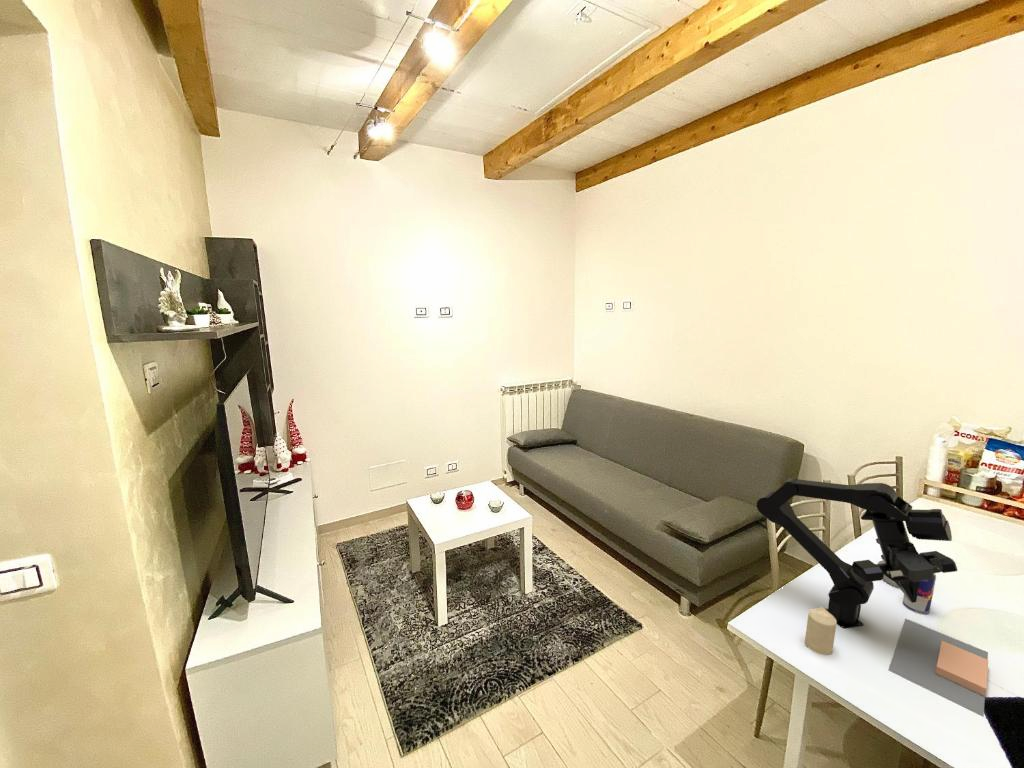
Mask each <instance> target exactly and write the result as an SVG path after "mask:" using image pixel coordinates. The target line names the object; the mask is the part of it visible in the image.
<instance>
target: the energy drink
mask: <svg viewBox="0 0 1024 768" xmlns="http://www.w3.org/2000/svg"><path fill="white" fill-rule="evenodd" d="M936 574H937V573H934V579H933V580H922V581H921V582H920V584H919V588H918V594H917V600H916V602H914V603H912V602H910V601H909V599H908V598H907V597H906V596H905V594H904V593H903V598H902V605H903V606H904V607H905V608H906V609H907V610H909V611H911V612H912V613H915V614H919V615H929V614H930V611H931V605H932V599H933V595H934V591H935V586H936V580H937V575H936Z"/></svg>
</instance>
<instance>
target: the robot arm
mask: <svg viewBox="0 0 1024 768" xmlns="http://www.w3.org/2000/svg"><path fill="white" fill-rule="evenodd" d="M795 496H798V497H803V498H804V497H806V498H811V499H812V498H813V499H818V500H826V501H831V502H832V501H833V502H841V503H847V504H851V505H853V506H854V507H855V506H856V507H858V508H859V509H861V510H865V511H864V512H863V513H862V515H861V516H860V519H861V520H862V521H872V525H873V528H874V531H875V534H876V537H877V538H875V541H876V544H878V545H879V547H880V550H881V554H880V557H881V560H884V561H885V563H883V564H878V563H874V562H873V561H871V560H870V559H865V560H864V559H863V560H857V561H853V562H852V565H851V564H850V563H848V562H845V561H843V560H842V559H841V558H840V557H839V556H838V555H837V553H835V552H834V551H833V550H832V549H831V548H829V547H828V545H827V544H826V543H825V542H823V540H822V539H821V538H820V537H818V536H817V535H816V534H815V533H814V531H812V530H811V529H810V528H809V527H808V526H807V525H806V524H805V523H803V521H801V519H800V518H799V517H798V516H797V515H796V513H795V510H793V509H794V508H793V507H792V504H790V502H789V501H790V499H792V498H793V497H795ZM756 509H757V511H758V512H759V514H761V515H762V516H763V517H764V518H766V519H767V520H768V521H769V522H771V523H773V524H775V525H778V526H779V527H782V528H783V529H784V530H785V531H786V532H787V533H788V534H789V536H791V537H792V538H793V539H794V540H795V541H796V542H797V543H798V545H800V546H801V547H802V548H803V549H804V550H805V551H806V552H807V553H808V554H809V555H810V556H811V557H812V558H813V559H814V560H815V561H816V562H817V563H818V564H819V565H820V566H821V567H822V568H823V569H824V570H825V571H826V572H827V574H828V575H829V577H830V579H831V580H832V583H833V586H832V588H831V589H830V591H829V592H828V593H827V594H828V597H829V598H828V605H827V606H828V607H827V608H825V609H826V610H827V611H828V612H829V613H830V614H831V615H833V616H834V618H835V619H836V621H837V624H836V625H838V626H839V627H840V628H841V629H850V628H856V627H857V628H858V627H863V626H864V622H862V621H861V620H859V619H860V617H861V615H860V614H861V608H862V605H865V604H867V603H868V601H869V599H870V597H871V596H872V593H873V591H874V582H877V581H878V582H879V581H882V580H883V577H884V575H885V576H887V577H888V578H889V579H891V580H892V581H894V582H895V583H896V584H897V586H898V587H899V588H898V587H897V588H898V589H900V591H901V592H902V593H903V595H904V594H905V596H906V597H907V598H908V599H909V601H910V602H912V603H914V602H916V600H917V594H918V588H919V584H920V582H921V581H922V580H933V579H934V573H936V574H939V573H943V574H947V573H954V572H958V567H957V563H956V562H955V560H954V559H953V558H951V557H949V556H948V555H947V556H946V555H945V554H943V553H942V552H939V551H937V550H932V551H924V552H919V551H918V550H917V549H916V546H915V545H914V543H913V542H911V541H910V538H909V535H911V536H912V538H916V539H917V540H922V541H923V540H927V541H943V542H944V541H945V542H952V540H953V538H952V537H953V535H952V531H951V526H950V523H949V522H950V521H949V520H947V518H946V516H945V515H944V513H943V510H942V509H940V508H932V509H913V505H911V504H910V503H908V502H907V501H906V500H904V499H903V497H901V496H899V495H898V493H897V492H896V490H895V489H894V488H893V487H891V485H889V484H887V483H884V482H868V483H867V482H865V483H857V484H843V483H842V484H841V483H835V482H834V483H833V482H825V481H815V480H807V479H805V480H804V479H799V478H795V477H792V478H788V479H787V480H786V481H785V482H784V483H783V485H781V486H780V487H779V488H777V490H775V491H774V490H772V491H767V492H766V493H765V494H763V495H762V497H760V498H759V499H758V500H757V501H756ZM908 534H909V535H908ZM883 574H884V575H883Z"/></svg>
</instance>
